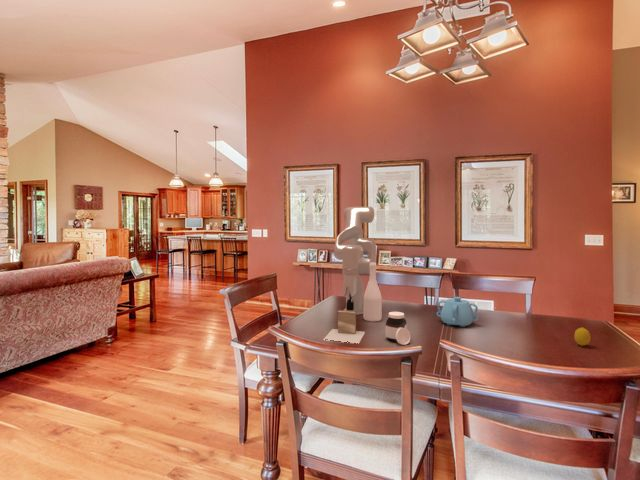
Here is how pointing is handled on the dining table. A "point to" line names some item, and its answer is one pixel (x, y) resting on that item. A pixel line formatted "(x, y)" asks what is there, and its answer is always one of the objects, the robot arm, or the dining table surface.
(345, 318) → the slab
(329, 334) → the mat
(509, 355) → the dining table surface
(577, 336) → the lemon
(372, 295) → the wine bottle
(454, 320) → the decorative pot
